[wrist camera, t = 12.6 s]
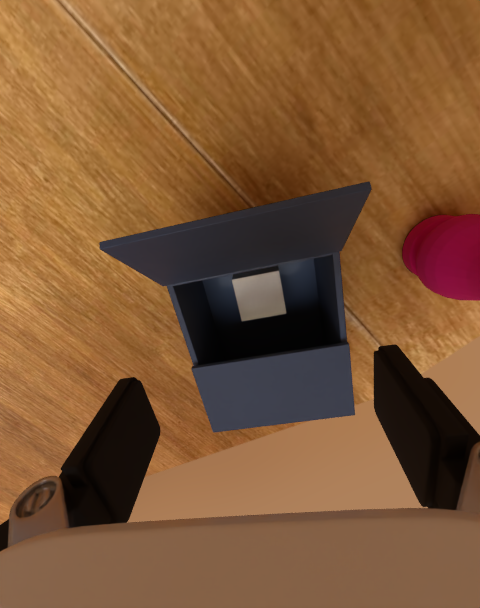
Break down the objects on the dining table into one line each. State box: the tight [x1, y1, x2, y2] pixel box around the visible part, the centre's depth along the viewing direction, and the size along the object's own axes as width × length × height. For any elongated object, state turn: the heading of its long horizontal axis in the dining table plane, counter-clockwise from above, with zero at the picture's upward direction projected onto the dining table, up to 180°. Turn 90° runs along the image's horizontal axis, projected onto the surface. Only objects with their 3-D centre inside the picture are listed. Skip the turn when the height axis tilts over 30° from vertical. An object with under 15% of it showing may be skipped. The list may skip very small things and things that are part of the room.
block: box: [232, 266, 286, 321], centre depth 29 cm, size 4×4×4 cm
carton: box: [167, 252, 355, 432], centre depth 28 cm, size 15×13×10 cm
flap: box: [100, 182, 372, 286], centre depth 17 cm, size 7×13×1 cm
